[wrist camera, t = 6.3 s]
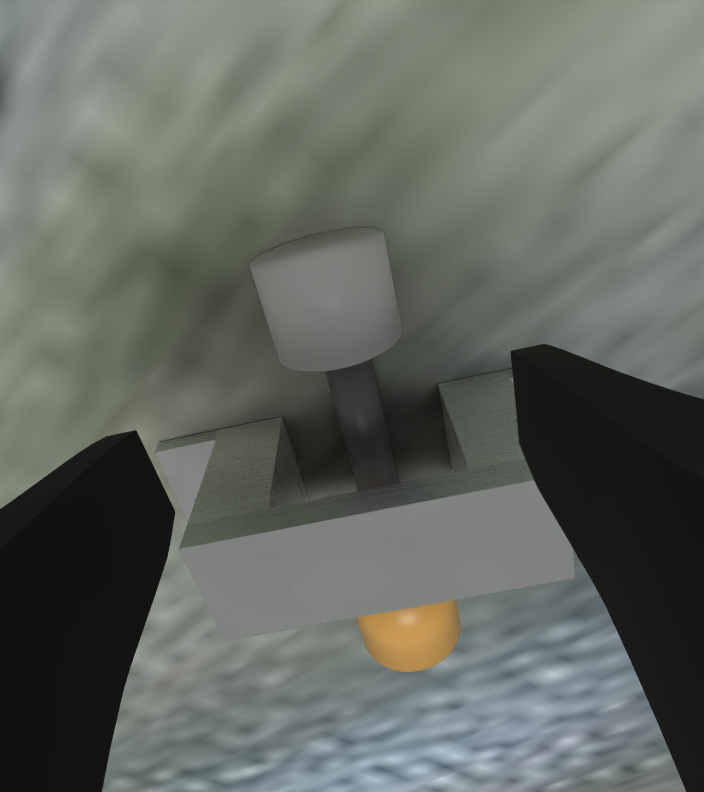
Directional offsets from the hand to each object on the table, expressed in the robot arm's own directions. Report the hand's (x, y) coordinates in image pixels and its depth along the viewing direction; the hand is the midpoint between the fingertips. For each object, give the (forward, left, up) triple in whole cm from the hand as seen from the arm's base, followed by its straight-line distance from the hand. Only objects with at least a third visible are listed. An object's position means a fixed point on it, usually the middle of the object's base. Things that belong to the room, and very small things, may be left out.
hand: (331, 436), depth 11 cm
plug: (-4, +5, -9) cm, 11 cm away
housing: (-4, +5, -9) cm, 11 cm away
